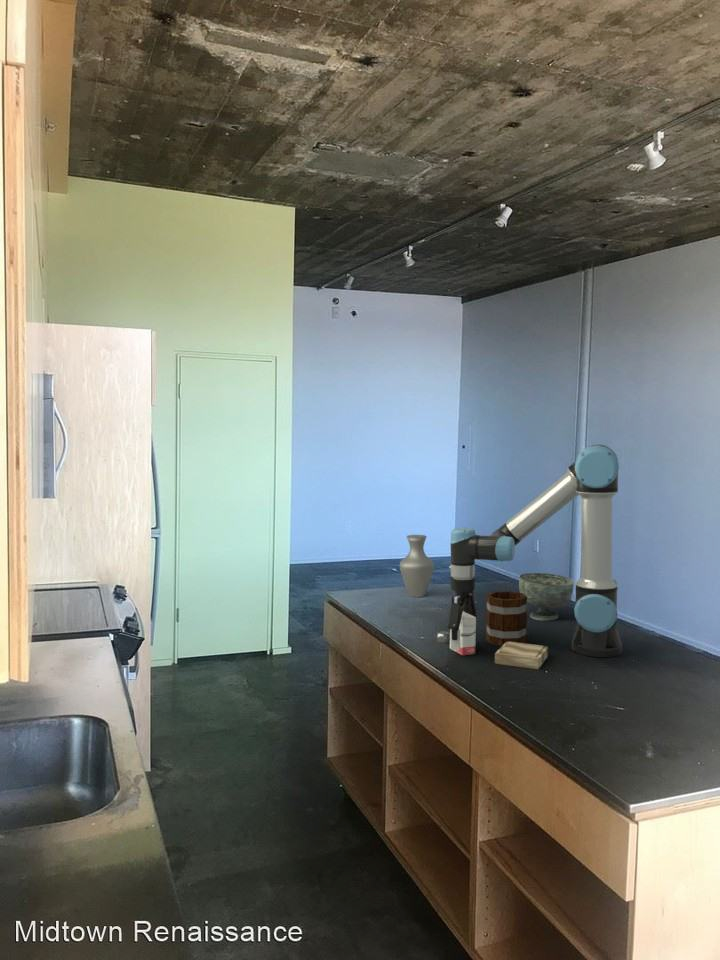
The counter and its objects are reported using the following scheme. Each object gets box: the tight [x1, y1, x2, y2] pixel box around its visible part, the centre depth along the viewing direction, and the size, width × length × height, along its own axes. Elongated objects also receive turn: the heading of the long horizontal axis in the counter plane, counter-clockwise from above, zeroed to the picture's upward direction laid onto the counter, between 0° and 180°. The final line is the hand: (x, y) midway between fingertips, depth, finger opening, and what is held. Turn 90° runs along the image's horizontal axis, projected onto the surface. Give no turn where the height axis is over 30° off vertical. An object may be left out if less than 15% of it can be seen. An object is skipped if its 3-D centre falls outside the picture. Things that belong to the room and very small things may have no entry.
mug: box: [485, 590, 528, 647], centre depth 248 cm, size 20×14×15 cm
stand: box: [494, 642, 549, 670], centre depth 225 cm, size 13×13×4 cm
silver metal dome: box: [436, 630, 450, 645], centre depth 245 cm, size 4×4×3 cm
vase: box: [399, 534, 435, 598], centre depth 309 cm, size 14×14×25 cm
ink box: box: [449, 611, 477, 656], centre depth 234 cm, size 9×5×12 cm, turn 22°
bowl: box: [518, 572, 575, 622], centre depth 273 cm, size 20×19×15 cm
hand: (462, 643), depth 235 cm, fingers open, 13 cm apart
